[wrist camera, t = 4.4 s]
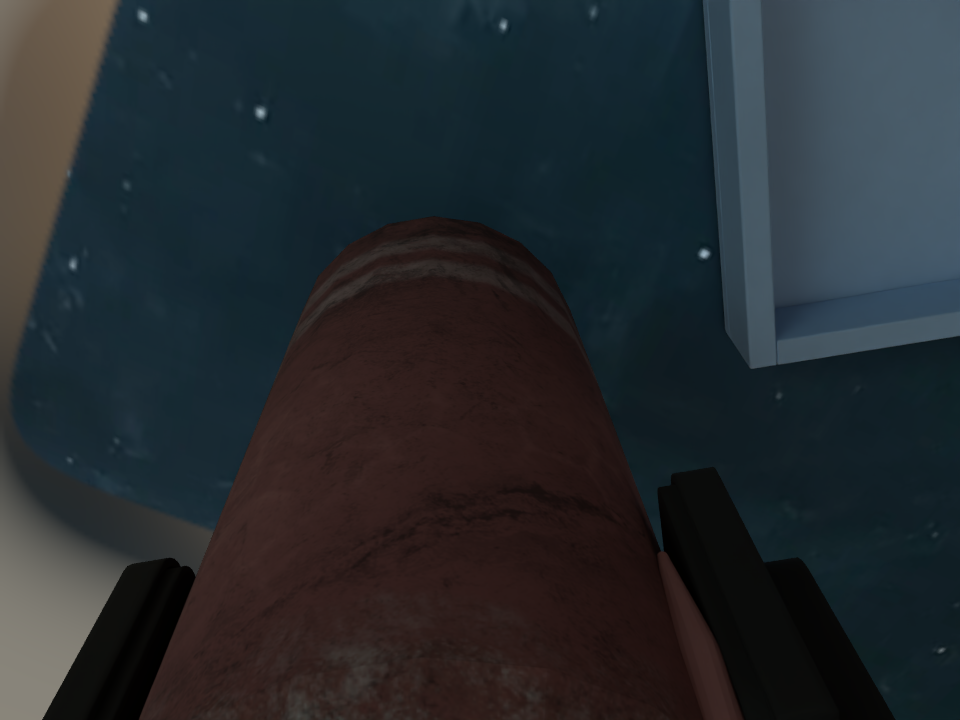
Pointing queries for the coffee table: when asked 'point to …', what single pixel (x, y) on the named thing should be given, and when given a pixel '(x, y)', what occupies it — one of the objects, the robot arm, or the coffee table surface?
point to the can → (437, 517)
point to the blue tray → (835, 173)
